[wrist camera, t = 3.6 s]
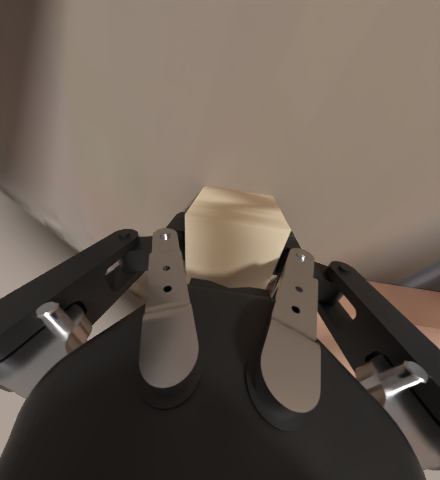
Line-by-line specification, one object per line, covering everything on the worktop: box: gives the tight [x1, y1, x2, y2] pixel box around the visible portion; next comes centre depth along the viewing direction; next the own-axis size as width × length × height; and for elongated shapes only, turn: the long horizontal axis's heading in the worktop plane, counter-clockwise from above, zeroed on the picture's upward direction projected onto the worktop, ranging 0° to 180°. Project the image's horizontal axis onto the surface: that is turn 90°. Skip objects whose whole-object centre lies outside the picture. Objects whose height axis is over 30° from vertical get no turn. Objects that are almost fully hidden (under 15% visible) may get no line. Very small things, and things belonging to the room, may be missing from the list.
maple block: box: [185, 186, 291, 289], centre depth 11 cm, size 5×5×5 cm
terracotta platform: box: [317, 281, 440, 378], centre depth 19 cm, size 20×20×4 cm
